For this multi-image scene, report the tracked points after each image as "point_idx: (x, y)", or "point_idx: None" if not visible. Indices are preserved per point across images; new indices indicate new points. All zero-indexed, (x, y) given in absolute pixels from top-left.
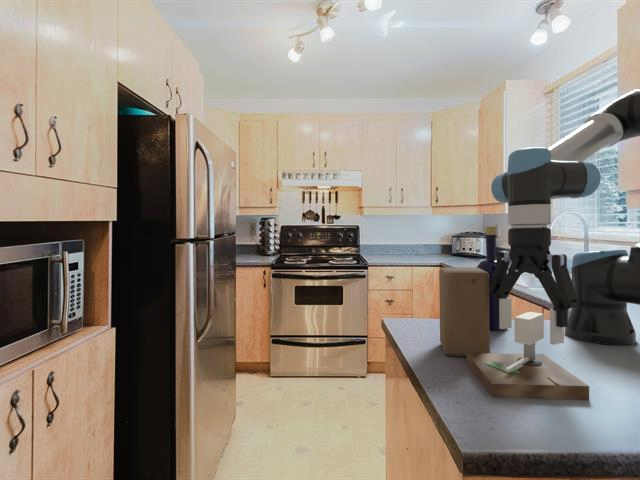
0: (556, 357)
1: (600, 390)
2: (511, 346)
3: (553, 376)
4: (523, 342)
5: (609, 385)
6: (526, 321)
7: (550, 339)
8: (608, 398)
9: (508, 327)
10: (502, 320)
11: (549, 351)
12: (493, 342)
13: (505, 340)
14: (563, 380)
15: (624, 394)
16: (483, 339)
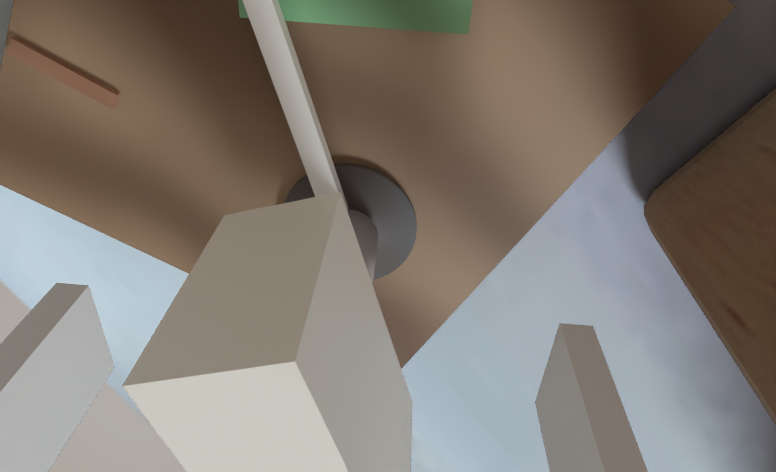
0: (433, 434)
1: (106, 271)
2: (644, 418)
3: (130, 141)
4: (266, 211)
5: (139, 337)
6: (170, 360)
7: (66, 307)
8: (31, 226)
9: (543, 382)
10: (578, 390)
11: (493, 468)
12: (747, 406)
13: (711, 459)
14: (68, 135)
15: None
16: (714, 243)
